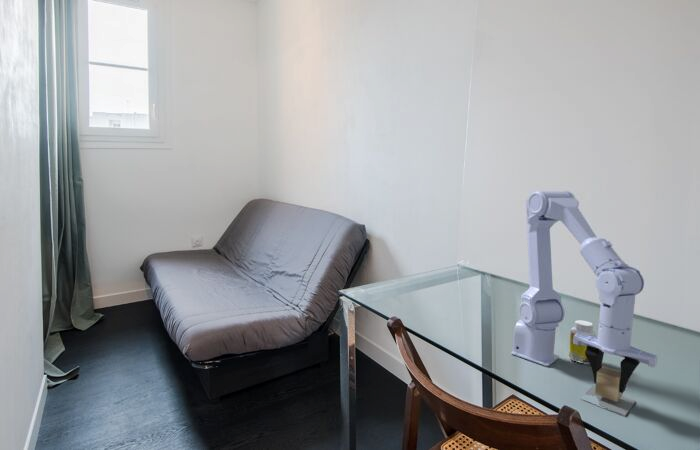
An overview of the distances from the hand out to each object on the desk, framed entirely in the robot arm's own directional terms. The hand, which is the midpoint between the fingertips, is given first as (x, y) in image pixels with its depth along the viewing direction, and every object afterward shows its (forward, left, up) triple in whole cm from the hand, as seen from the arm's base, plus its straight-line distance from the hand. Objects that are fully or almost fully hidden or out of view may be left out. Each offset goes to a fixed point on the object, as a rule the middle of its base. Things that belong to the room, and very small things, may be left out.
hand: (609, 386), depth 81 cm
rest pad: (0, 0, -3) cm, 3 cm away
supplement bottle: (-10, +16, -3) cm, 20 cm away
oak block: (0, 0, -2) cm, 2 cm away
